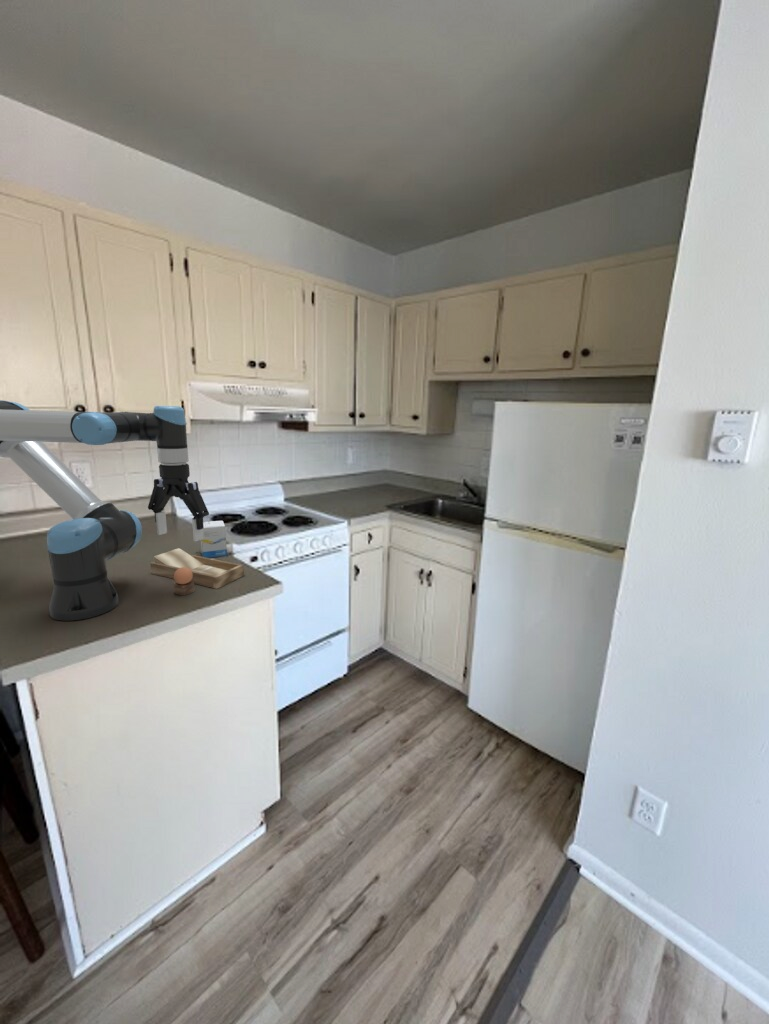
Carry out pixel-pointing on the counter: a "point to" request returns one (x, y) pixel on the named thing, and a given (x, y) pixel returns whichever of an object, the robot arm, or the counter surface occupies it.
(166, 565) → the tray
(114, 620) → the counter surface
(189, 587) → the small brown open box
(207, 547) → the ink box
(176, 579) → the ball
